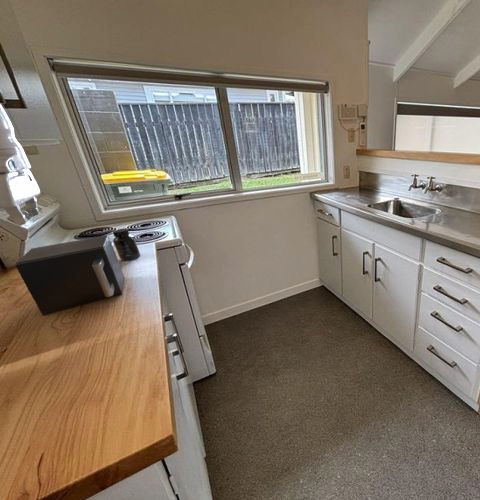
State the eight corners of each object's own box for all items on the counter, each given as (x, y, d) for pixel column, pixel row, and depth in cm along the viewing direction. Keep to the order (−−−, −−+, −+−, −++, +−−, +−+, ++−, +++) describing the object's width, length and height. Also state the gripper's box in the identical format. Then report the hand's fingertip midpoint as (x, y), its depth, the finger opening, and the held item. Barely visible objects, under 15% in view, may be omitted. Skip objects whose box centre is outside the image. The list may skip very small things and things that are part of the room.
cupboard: (122, 293, 88) (103, 246, 82) (43, 314, 79) (15, 263, 73) (124, 278, 98) (108, 235, 92) (55, 295, 89) (31, 248, 83)
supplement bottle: (123, 256, 117) (112, 229, 113) (142, 253, 120) (133, 226, 115) (118, 262, 111) (106, 234, 107) (138, 259, 114) (128, 231, 109)
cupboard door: (121, 302, 83) (101, 254, 77) (36, 326, 74) (5, 273, 68) (122, 293, 88) (103, 247, 82) (43, 314, 79) (15, 263, 73)
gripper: (0, 160, 73) (25, 212, 78) (-42, 167, 57) (-7, 231, 62) (34, 159, 76) (56, 208, 82) (3, 164, 60) (33, 226, 66)
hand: (28, 219), depth 72 cm, fingers open, 8 cm apart
